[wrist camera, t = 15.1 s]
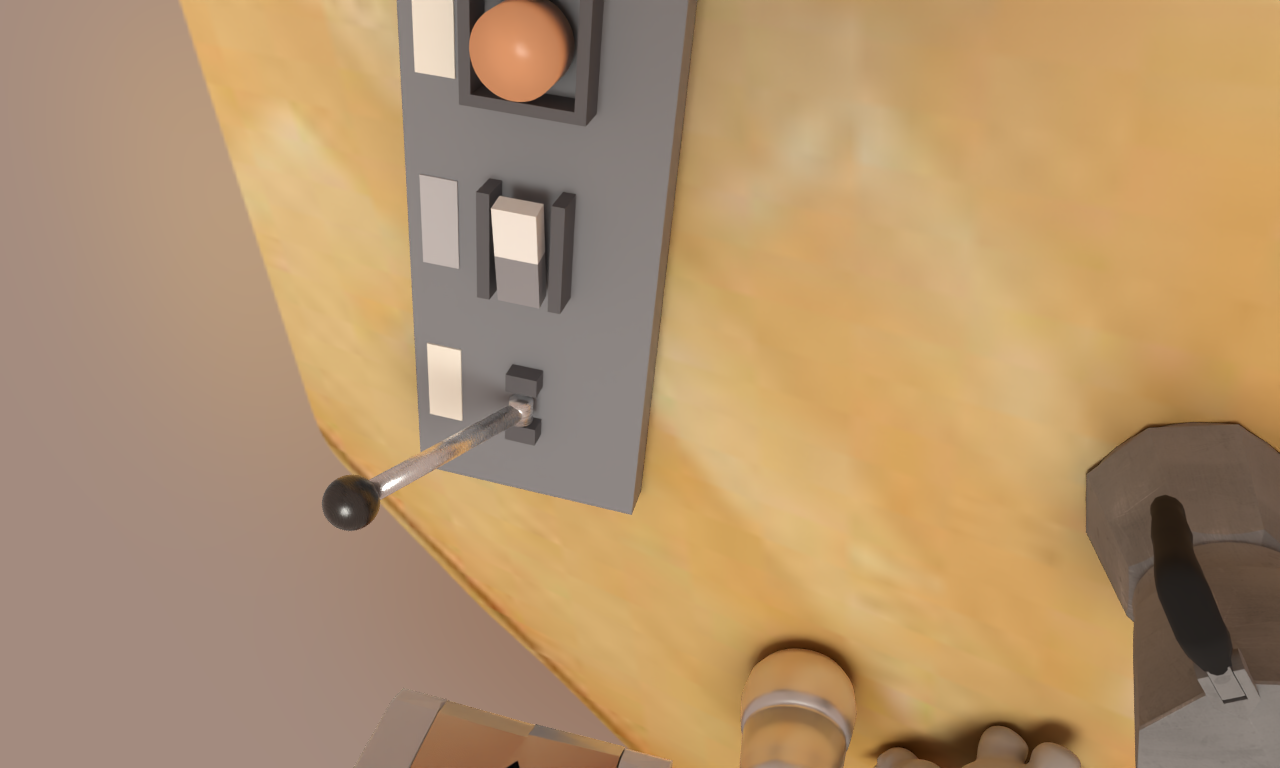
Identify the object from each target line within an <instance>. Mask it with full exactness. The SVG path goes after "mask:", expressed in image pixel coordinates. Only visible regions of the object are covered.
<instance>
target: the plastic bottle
mask: <svg viewBox="0 0 1280 768" xmlns="http://www.w3.org/2000/svg"><path fill="white" fill-rule="evenodd" d="M856 715H857V711H856V703H855V695H854V688H853V685H852V683H851V680H850V679H849V678H848V676H847V675H846V673H845V672H844V671H843V670H842V668H841V667H840V666H839V665H838V664H837V663H836V662H835V661H833V660H832V659H831V658H829V657H828V656H825V655H823V654H821V653H819V652H815V651H812V650H807V649H799V648H791V649H783V650H780V651H776V652H774V653H772V654H770V655H768V656H767V657H766V658H764V659H763V660H762V661H760V662H759V663H758V664H756V666H755V667H754V668H753V669H752V671H751V673H750V675H749V678H748V680H747V683H746V685H745V688H744V690H743V692H742V699H741V730H742V745H741V757H740V768H843V766H844V760H845V754H846V751H847V750H848V747H849V744H850V741H851V737H852V733H853V729H854V724H855V720H856Z"/></svg>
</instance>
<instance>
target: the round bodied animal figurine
mask: <svg viewBox="0 0 1280 768" xmlns="http://www.w3.org/2000/svg"><path fill="white" fill-rule="evenodd" d="M1027 755H1028V746H1027V744H1026V742H1025V741H1024V740H1023V739H1022V738H1021V737H1020V736H1019V735H1018V734H1017V733H1016V732H1014V731H1013V730H1011V729H1009V728H1007V727H1004V726H992V727H989V728H988V729H986V730H985V732H984V733H983V734H982V736H981V738H980V741H979V745H978V751H977V759H976V760H975V761H974V762H971V763H969V764H967V765H965V766H963V767H961V768H1081V763H1080V760H1079V759H1078V757H1077V756H1076V755H1075V754H1074V753H1073V752H1071V751H1070V750H1068V749H1067V748H1065V747H1063V746H1061V745H1059V744H1056V743H1052V742H1045V743H1041V744H1039V745H1038V746H1036V747H1035V748H1034V750H1033V752H1032V754H1031V758H1030V761H1029V762H1028V763H1027V764H1025V760H1026V758H1027ZM874 768H941V767H939V766H938V765H936V764H935V763H932V762H930V761H927V760H922V759H918V758H917V757H916V756H915V755H914V754H913V753H912V752H911V751H909V750H907V749H905V748H900V747H895V748H891V749H888V750H887V751H886V752H884V753H882V754H881V755H880V756H879V757H878V759H877V765H876V766H875V767H874Z"/></svg>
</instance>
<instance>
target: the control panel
mask: <svg viewBox="0 0 1280 768" xmlns="http://www.w3.org/2000/svg"><path fill="white" fill-rule="evenodd" d="M503 1H504V0H397V14H398V33H399V52H400V71H401V90H402V109H403V128H404V147H405V165H406V184H407V203H408V222H409V241H410V260H411V279H412V298H413V317H414V336H415V354H416V373H417V392H418V411H419V430H420V449H421V452H422V451H424V450H426V449H428V448H430V447H432V446H433V445H435V444H437V443H439V442H441V441H443V440H445V439H446V438H448V437H450V436H452V435H454V434H456V433H458V432H460V431H461V430H463V429H465V428H467V427H469V426H471V425H473V424H474V423H476V422H478V421H480V420H482V419H484V418H486V417H488V416H489V415H491V414H493V413H495V412H497V411H499V410H501V409H502V408H504V407H506V406H508V405H509V398H510V397H511V396H512V395H514V394H520V395H524V396H529V397H532V398H533V421H532V423H531V424H530V425H528V426H524V427H518V426H512V427H510V428H508V429H506V430H505V431H503V432H501V433H499V434H497V435H496V436H494V437H492V438H490V439H488V440H487V441H485V442H483V443H481V444H480V445H478V446H476V447H474V448H472V449H471V450H469V451H467V452H465V453H463V454H462V455H460V456H458V457H456V458H454V459H453V460H451V461H449V462H447V463H445V464H444V465H442V466H440V467H438V468H436V469H439V470H444V471H448V472H452V473H456V474H461V475H465V476H469V477H473V478H478V479H482V480H486V481H490V482H495V483H499V484H503V485H507V486H512V487H516V488H520V489H524V490H529V491H533V492H537V493H541V494H546V495H550V496H554V497H558V498H563V499H567V500H571V501H575V502H580V503H584V504H588V505H592V506H597V507H601V508H605V509H609V510H614V511H618V512H622V513H626V514H631V515H632V513H633V510H634V508H635V505H636V502H637V500H638V497H639V495H640V492H641V485H642V476H643V468H644V459H645V450H646V441H647V433H648V424H649V415H650V407H651V398H652V389H653V381H654V372H655V363H656V355H657V346H658V337H659V329H660V320H661V311H662V303H663V294H664V285H665V277H666V268H667V259H668V250H669V242H670V233H671V224H672V216H673V207H674V198H675V190H676V181H677V172H678V164H679V155H680V146H681V138H682V129H683V120H684V112H685V103H686V94H687V86H688V77H689V68H690V60H691V51H692V42H693V33H694V25H695V16H696V7H697V0H549V1H551V2H552V3H553V4H555V5H556V6H557V7H558V8H559V9H560V10H561V11H562V12H563V14H564V15H565V17H566V18H567V20H568V22H569V24H570V26H571V29H572V32H573V36H574V44H575V49H574V56H573V60H572V63H571V65H570V67H569V69H568V71H567V72H566V73H565V75H564V76H563V77H562V78H561V79H560V80H559V81H557V82H556V83H555V84H554V85H553V86H552V87H551V88H550V89H549V90H548V91H547V92H546V93H544V94H543V95H542V96H540V97H538V98H536V99H534V100H531V101H526V102H514V101H509V100H506V99H503V98H501V97H499V96H497V95H496V94H494V93H493V92H491V91H490V90H489V89H488V88H487V87H486V86H485V85H484V84H483V83H482V82H481V80H480V79H479V78H478V76H477V74H476V72H475V70H474V68H473V66H472V62H471V59H470V53H469V41H470V35H471V32H472V29H473V27H474V25H475V23H476V22H477V20H478V19H479V18H480V17H481V16H482V15H483V14H484V13H485V12H487V11H488V10H490V9H491V8H493V7H495V6H496V5H498V4H500V3H501V2H503ZM499 196H503V197H508V198H514V199H519V200H524V201H530V202H535V203H540V204H544V231H545V264H546V297H545V299H544V301H543V303H542V305H541V307H540V309H539V308H534V307H529V306H524V305H519V304H514V303H509V302H505V301H500V300H498V295H497V282H496V269H495V256H494V243H493V229H492V216H491V208H492V206H493V205H494V203H495V202H496V200H497V198H498V197H499Z"/></svg>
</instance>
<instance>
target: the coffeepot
mask: <svg viewBox="0 0 1280 768" xmlns="http://www.w3.org/2000/svg"><path fill="white" fill-rule="evenodd" d="M1086 533H1087V535H1088V537H1089V539H1090V541H1091V543H1092V545H1093V547H1094V549H1095V551H1096V554H1097V556H1098V558H1099V560H1100V562H1101V564H1102V566H1103V568H1104V570H1105V572H1106V574H1107V576H1108V578H1109V580H1110V582H1111V584H1112V586H1113V588H1114V590H1115V592H1116V595H1117V597H1118V599H1119V601H1120V603H1121V605H1122V607H1123V609H1124V611H1125V613H1126V615H1127V616H1128V617H1129V618H1130V619H1131V620H1132V621H1133V622H1134V631H1133V670H1134V715H1135V761H1136V768H1280V454H1279V453H1278V452H1277V451H1276V450H1275V449H1274V448H1272V447H1271V446H1270V445H1269V444H1268V443H1267V442H1265V441H1263V440H1262V439H1260V438H1258V437H1257V436H1255V435H1253V434H1251V433H1250V432H1248V431H1247V430H1246V429H1244V428H1243V427H1242V426H1240V425H1239V424H1223V423H1198V422H1189V423H1180V424H1171V425H1167V426H1163V427H1159V428H1147V429H1146V430H1144V431H1142V432H1140V433H1139V434H1137V435H1135V436H1134V437H1132V438H1130V439H1129V440H1127V441H1126V442H1124V443H1122V444H1121V445H1119V446H1118V447H1116V448H1115V449H1114V450H1113V451H1112V452H1110V453H1109V454H1108V455H1107V456H1106V457H1105V458H1104V459H1103V460H1102V461H1101V463H1100V464H1099V465H1098V466H1097V467H1095V468H1094V469H1093V470H1091V471H1090V472H1089V473H1087V488H1086Z"/></svg>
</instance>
